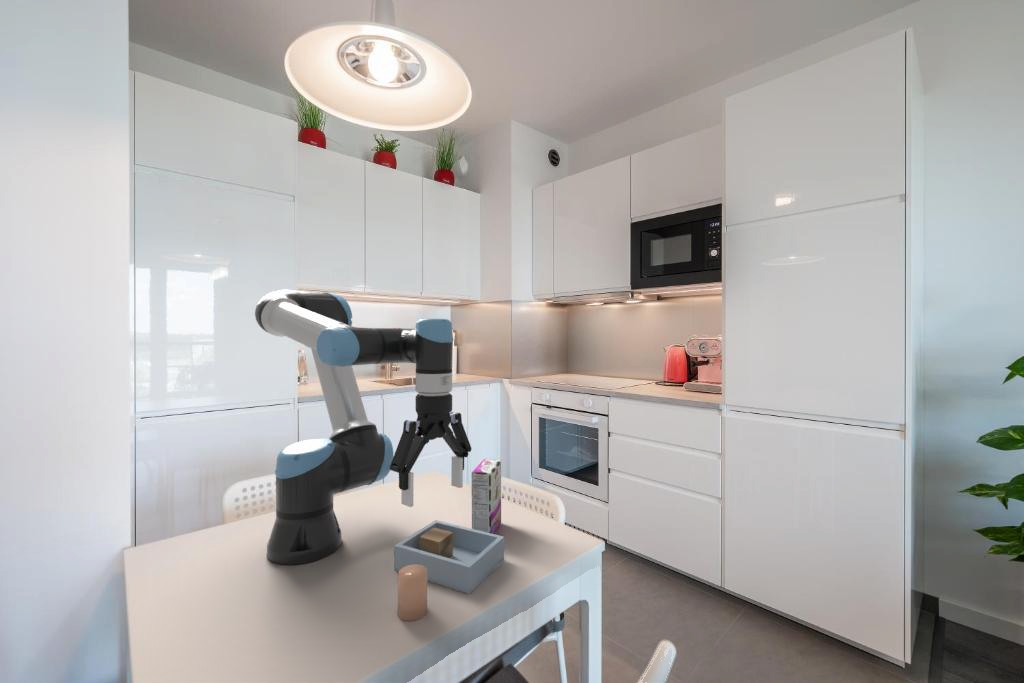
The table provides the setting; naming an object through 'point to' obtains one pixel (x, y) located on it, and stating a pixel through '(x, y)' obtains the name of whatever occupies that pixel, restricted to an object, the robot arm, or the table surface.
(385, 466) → the robot arm
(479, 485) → the candy bar box
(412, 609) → the peach rounded cylinder
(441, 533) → the walnut cube
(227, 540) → the table surface
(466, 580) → the tote
